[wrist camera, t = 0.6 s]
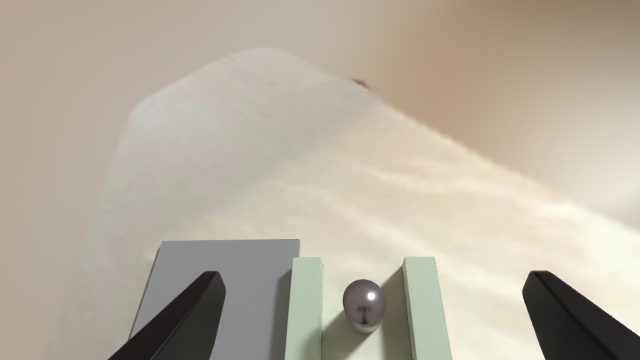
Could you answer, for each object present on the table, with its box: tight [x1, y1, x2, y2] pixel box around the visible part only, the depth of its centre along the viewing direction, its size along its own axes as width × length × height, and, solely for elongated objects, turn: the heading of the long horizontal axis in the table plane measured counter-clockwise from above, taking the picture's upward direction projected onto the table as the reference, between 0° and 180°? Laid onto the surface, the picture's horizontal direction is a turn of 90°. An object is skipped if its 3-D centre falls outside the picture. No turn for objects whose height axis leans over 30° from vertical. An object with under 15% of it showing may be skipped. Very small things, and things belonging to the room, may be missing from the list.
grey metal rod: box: [343, 279, 385, 334], centre depth 19 cm, size 2×2×5 cm
